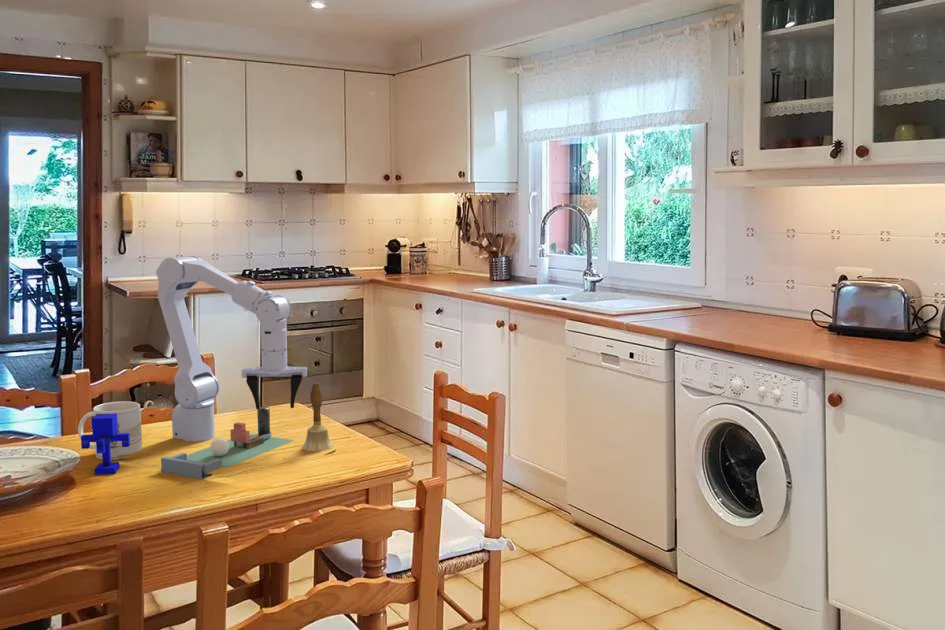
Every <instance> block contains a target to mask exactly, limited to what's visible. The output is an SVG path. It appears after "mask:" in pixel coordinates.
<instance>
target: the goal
mask: <svg viewBox="0 0 945 630" xmlns="http://www.w3.org/2000/svg"><path fill="white" fill-rule="evenodd" d="M187 455H188V454H187V452H180V453H178V454H175V455H172V456H162V457H161V458H160V464H161V466H160V467H161V473H166V474H170V475H171V474H172V475H177V476H183V477H189V478H194V479H198V480H203V479H205V478H208V477H210V476H212V475H213V473H210V472H212V471H214V470H217V469H219V468H222V467H223V466H222V459H215V460H213V461H210V462H208V463H200V462H194V461H188V460H187Z"/></svg>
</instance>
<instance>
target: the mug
mask: <svg viewBox="0 0 945 630" xmlns="http://www.w3.org/2000/svg"><path fill="white" fill-rule="evenodd" d="M141 412H142V411H141V404H140V403H138V402H135V401H127V400H126V401H111V402H104V403H102V404H98V405H95V406H94V407H92V411H90V412H87V413H86V414H85V415H83V416H82V417H81V419H80V421H79V423H78V428H77V430H78V431H77V433H78V437H79V440H80V441H81V436H82V435H85V433H84V425H85V422H86V421H87V419H88V418H90V417H92V418H93V417H94V416H95V415H96V414H115V413H117V427H118V432H117V433H130V446H129V447H122V441H114V442H113V443H110V452H111V461H119V460H120V461H121V460H126V458H123V457H121V456H127V455H131V454H135V453H137V452H138V453H139V452H140V451H141V450H142V449H143V438H142V437H143V433H142V432H143V431H142V415H141V414H142V413H141ZM88 449H91V450H94V451H95V457H96V459H99V460H102V453H97V448H96V442H94V443H93V442H90V447H89V448H88Z"/></svg>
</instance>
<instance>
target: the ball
mask: <svg viewBox="0 0 945 630" xmlns="http://www.w3.org/2000/svg"><path fill="white" fill-rule="evenodd" d="M210 443H211V444H210V446H209V447H210V449H211V452H212V453H213V454H214V455H216V456H223V455H225V454H226V453H227V452H228V451H229V443H228V440H226V438H222V437H218V438H217V437H216V438H214V440H213V441H212V442H210Z"/></svg>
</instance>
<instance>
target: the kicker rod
mask: <svg viewBox="0 0 945 630" xmlns="http://www.w3.org/2000/svg"><path fill="white" fill-rule="evenodd" d="M256 410H257V413H256V414H257V415H256V416H257V434H256V435H253V436H251V437H249V433H250V430H247V429H246V423H245V422H239V421H238V422H234V423H233V429H232V428H231V429H230V430H229V431H230V439H231V441H234V442H237V447H242V448H244V447H246V443H248V442H250V441H251V440H254V439H256V438H259V437H262V438H263V440H265V439H267V438H270V437H272V431H271V419H270V418H271V417H270V415H271V414H270V413H271V412H270V407H268V406H260V408H259V409H256Z"/></svg>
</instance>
